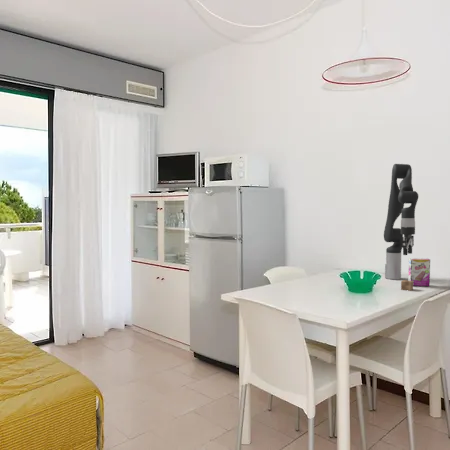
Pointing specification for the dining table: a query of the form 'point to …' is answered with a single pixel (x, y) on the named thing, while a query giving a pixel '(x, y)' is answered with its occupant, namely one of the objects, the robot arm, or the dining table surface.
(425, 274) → the candy bar box
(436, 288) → the dining table surface
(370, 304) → the dining table surface
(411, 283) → the walnut cube
